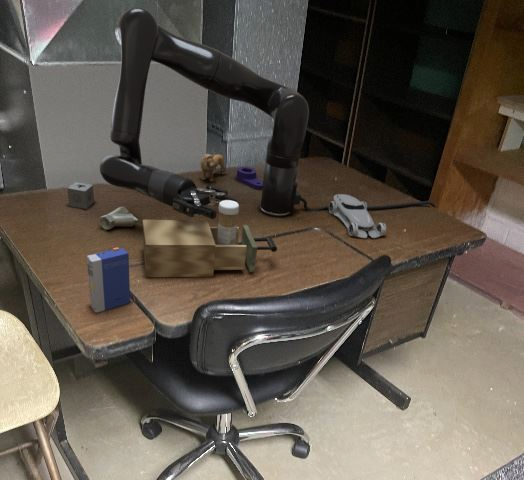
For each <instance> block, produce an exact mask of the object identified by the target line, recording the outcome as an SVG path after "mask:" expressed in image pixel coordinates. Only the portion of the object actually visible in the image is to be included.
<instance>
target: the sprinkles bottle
mask: <svg viewBox="0 0 524 480" xmlns="http://www.w3.org/2000/svg"><path fill="white" fill-rule="evenodd" d="M239 212H240V205H239V202H238V203H237V202H235V201H231V200H224V201H221V202H220V203H219V204H218V224H217V227H218V234H217V245H235V241H236V230H237V227H238V214H239Z"/></svg>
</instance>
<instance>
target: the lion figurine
mask: <svg viewBox="0 0 524 480" xmlns="http://www.w3.org/2000/svg"><path fill="white" fill-rule="evenodd" d="M218 165H219V166H220V168H219V170H220V171H222V172H221V175H226V165H225V159H224V156H223V155H222V154H214V155H212V154H210V153H205V154H204V155H202V157H201V159H200V169H201V170H202V177H201V180H202V181H206V179H207V174H209V182H214V174H215V173H216V171H217V168H218Z"/></svg>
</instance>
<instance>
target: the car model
mask: <svg viewBox="0 0 524 480" xmlns="http://www.w3.org/2000/svg"><path fill="white" fill-rule="evenodd" d="M328 206H329V209H328V212H329V214H330V215H333V216H334V217H336V218H338V219H339V220H340V222H341V223H343V224H344V226H345V227H346V229H347V231H348V232H347V233H348V235H349V236H350V237H354V238H361V239H367V238H368V237H369V238H371V239H377V238H380V237H383V236H385V235H386V233H387V225H386V223H385V222H379V223H377V224H375V222H374V219H373V218H372V216H371V214H370V212H368V211H369V210H367V207H368V204H367V202H366V201H363V200H362V201H360V200H359V199H357V198H356V197H355V196H352V195H350V194H344V193H343V194H342V193H340V194H338V193H337V194H335V195H334V196H333V200H331V201H330V202H329V204H328ZM348 208H349V209H348Z"/></svg>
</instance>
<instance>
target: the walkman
mask: <svg viewBox="0 0 524 480" xmlns="http://www.w3.org/2000/svg"><path fill="white" fill-rule="evenodd" d="M129 259H130V258H129V252H128V251H126V250H125V248H123V247H113V248H112V249H110V250H106V251H105V250H104V251H102V252H96V253H93V254H88V255H86V264H87V276H88V288H89V298H90V307H91V308H92V310H93V312H95V313H101V312H103V311H106V310H111V309H113V308H117V307H119V306H123V305H127V304H130V303H131V288H130V287H131V286H130V283H131V282H130V260H129Z"/></svg>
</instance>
